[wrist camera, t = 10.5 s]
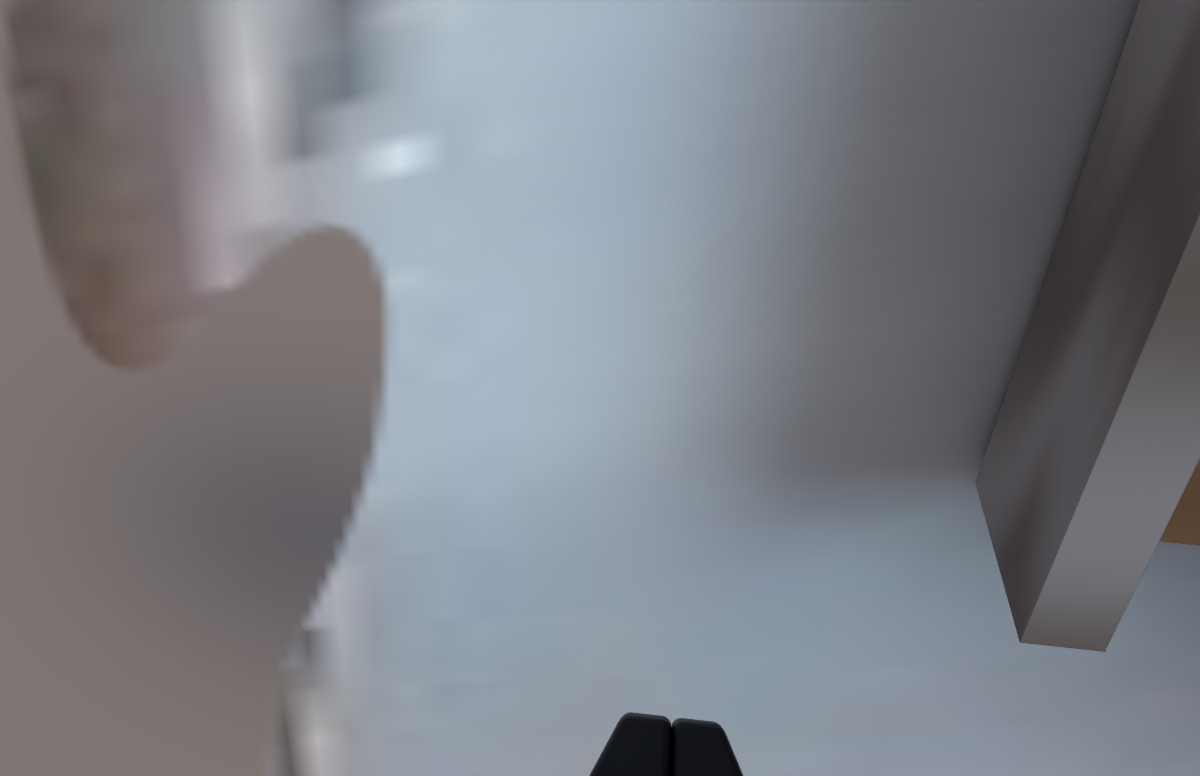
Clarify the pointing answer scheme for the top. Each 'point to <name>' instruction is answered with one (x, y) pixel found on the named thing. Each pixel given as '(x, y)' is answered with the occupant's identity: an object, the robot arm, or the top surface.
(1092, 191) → the shelf board
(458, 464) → the top surface
